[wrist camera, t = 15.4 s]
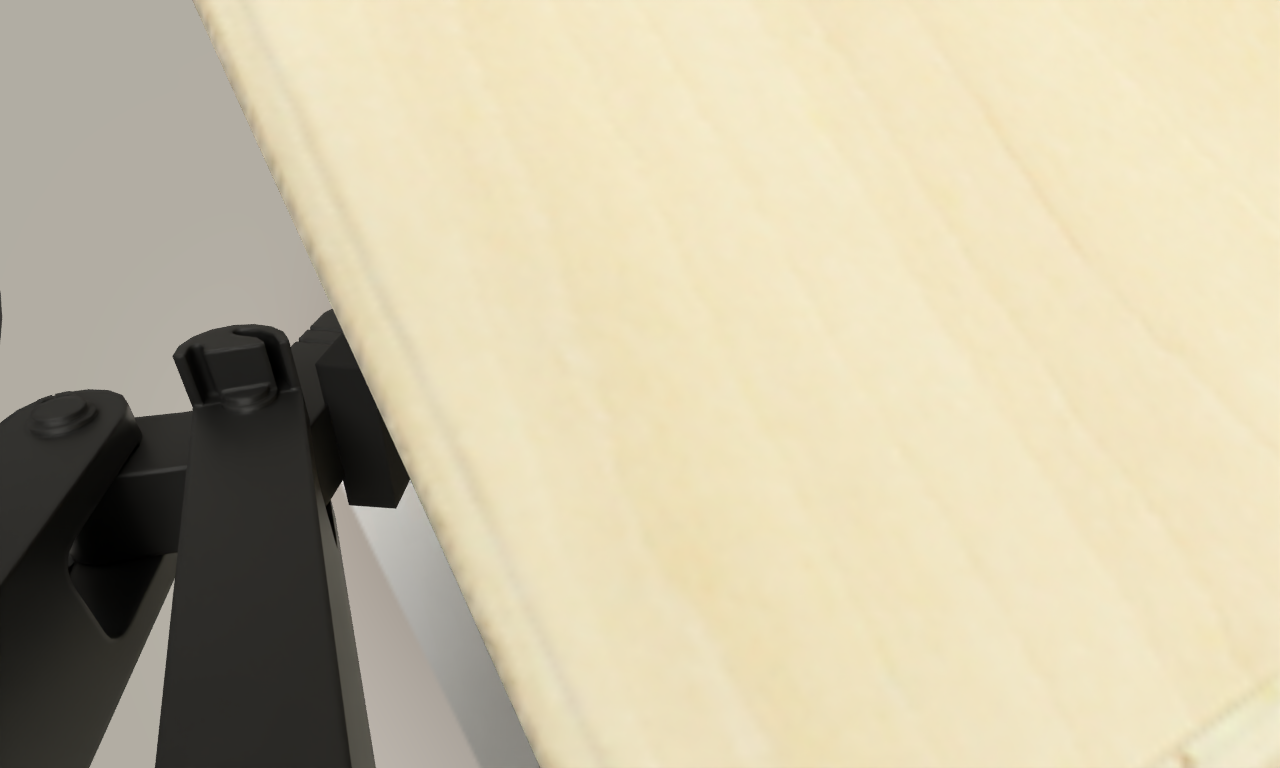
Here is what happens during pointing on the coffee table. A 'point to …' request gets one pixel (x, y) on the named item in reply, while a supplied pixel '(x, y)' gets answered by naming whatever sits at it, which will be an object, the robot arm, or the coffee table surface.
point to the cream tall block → (817, 359)
